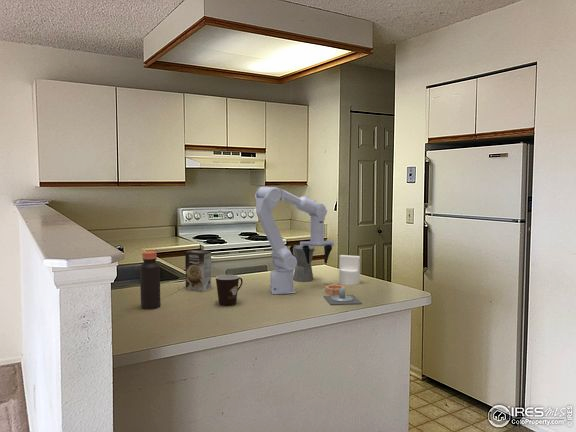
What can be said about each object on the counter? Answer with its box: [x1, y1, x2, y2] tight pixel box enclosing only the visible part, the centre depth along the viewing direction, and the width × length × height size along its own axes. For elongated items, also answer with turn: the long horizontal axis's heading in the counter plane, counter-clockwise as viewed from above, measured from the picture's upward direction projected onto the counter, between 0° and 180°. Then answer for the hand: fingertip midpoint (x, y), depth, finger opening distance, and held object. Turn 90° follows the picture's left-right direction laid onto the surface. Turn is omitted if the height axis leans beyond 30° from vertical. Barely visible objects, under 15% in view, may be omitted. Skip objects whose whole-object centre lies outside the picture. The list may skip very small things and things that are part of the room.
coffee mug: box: [215, 274, 243, 307], centre depth 170 cm, size 12×9×10 cm
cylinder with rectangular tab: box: [338, 254, 361, 286], centre depth 204 cm, size 9×9×12 cm
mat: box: [323, 294, 363, 306], centre depth 175 cm, size 12×12×1 cm
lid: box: [331, 287, 353, 302], centre depth 175 cm, size 8×8×4 cm
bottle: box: [139, 250, 162, 310], centre depth 165 cm, size 7×7×20 cm
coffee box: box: [184, 249, 212, 293], centre depth 191 cm, size 9×6×16 cm
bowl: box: [324, 284, 346, 296], centre depth 186 cm, size 8×8×2 cm
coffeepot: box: [289, 240, 316, 283], centre depth 210 cm, size 15×9×18 cm, turn 44°
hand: (316, 262), depth 196 cm, fingers open, 7 cm apart
